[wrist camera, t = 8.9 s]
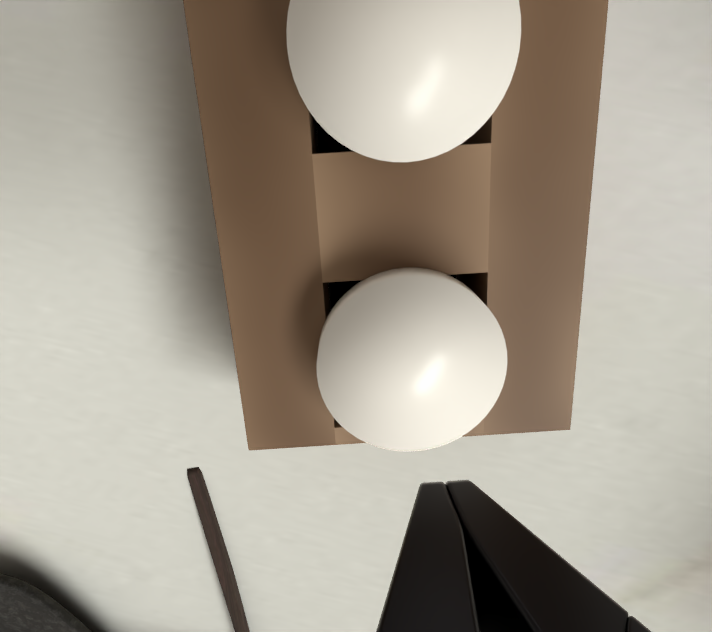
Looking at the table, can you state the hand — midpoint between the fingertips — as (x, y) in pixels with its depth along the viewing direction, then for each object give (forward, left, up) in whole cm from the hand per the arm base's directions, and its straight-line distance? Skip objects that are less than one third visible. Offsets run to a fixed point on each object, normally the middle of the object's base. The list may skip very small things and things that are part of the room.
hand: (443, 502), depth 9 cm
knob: (0, 0, -10) cm, 10 cm away
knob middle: (0, -8, -10) cm, 13 cm away
